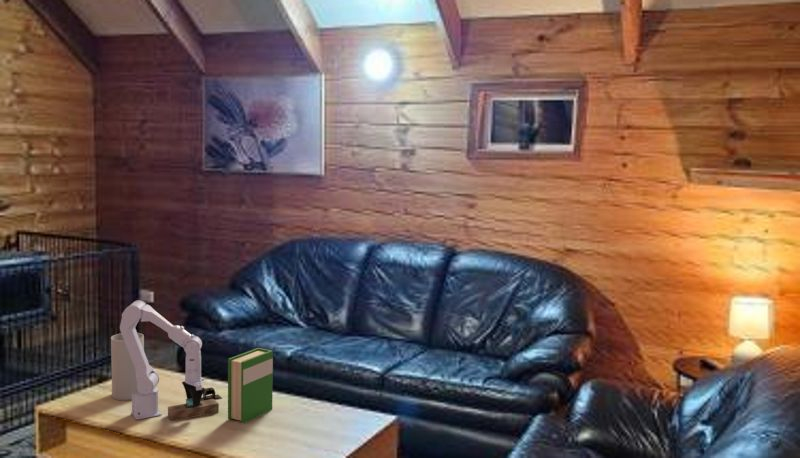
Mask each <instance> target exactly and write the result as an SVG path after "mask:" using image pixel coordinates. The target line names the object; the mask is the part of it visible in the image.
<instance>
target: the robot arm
mask: <svg viewBox="0 0 800 458" xmlns="http://www.w3.org/2000/svg"><path fill="white" fill-rule="evenodd" d="M139 321H140V322H141V323H142V322H151V323H152V324H154V325H155V326H157V327H158V328H160V329H162V330H163V331H164V332H166V333H167V335H168V338H169V339H170V340H172V341H173V342H174V343H176V344H178V345H179V346H180V348H181V347H182V348H183V350H184V352H185V374H184V377H185V378H184V379H185V380H184V381H182V382H181V384H182V385H183V388H184V391H185V396H186V399H190V398H192V401H193V406H199V405H200V401H201V397H203V392H204V391H205V389H206V388H205V387H203V384H202V382H203V381H205V378H204V377H202V351H201V349H202V346H203V340H202V339H201V338H200V336H197V335H195V334H193V333H192V334H191V333H190V332H188V331H187V330H186V329H185V326H183V325H181V326H180V325H179V324H178V325H177V324H176V325H174V324H172V323H171V322H170V321H168V319H166V318H165V317H164V316H163V315H161V314H160V313H159V312H157V310H155V309H154V308H153V307H152V306H151V305H150V304H147V303H146V302H145V301H143V300H139V299H138V300H135V301H133V302H132V303H131V304H130V305H128V306H126V308H125V309H124V310H123V312H121V320H120V323H119V331H120V333H122V336H123V339H124V341H125V344H126V346H127V349H128V351H129V354H130V357H131V359H132V362H133V364H134V367H135V370H136V380H137V390H138V393H135V394H133V395H132V400H131V412H130V413H131V415H132V416H133V417H134V418H135V420H142V419H147V418H153V417H159V416H162V413H161V412H160V410H159V389H158V387H157V385H158V384H159V382H160V377H159V374H158V373H157V372H156V371H155V370H154V368H153V367H152V365H150V363H149V360H148V358H147V356H146V355H147V354H146V353H145V349H144V350H143V347H142V344H141V342H140V339H139V337H138V334H137V333H138V332H137V329H136V327H137V324H138V323H139Z"/></svg>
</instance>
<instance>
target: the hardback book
mask: <svg viewBox="0 0 800 458" xmlns="http://www.w3.org/2000/svg"><path fill="white" fill-rule="evenodd" d="M273 355H274V351H273V350H271V349H266V348H260V347H257V348H254V349H251V350H248V351H246V352H243V353H240V354H237V355H235V356H232V357H229V358H228V359H227V420H228V421H231V420H237V421H240V424H246V423H248V422H249V421H252V420H253V419H256V418H259V417H260V416H262V415H263V414H265V413H268V412H269V411H272V410H273V387H274V386H273V383H274V380H273V378H274V377H273V375H274V374H273V373H274V369H273V368H274V366H273V365H274V361H273V360H274V356H273Z"/></svg>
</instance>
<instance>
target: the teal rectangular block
mask: <svg viewBox="0 0 800 458" xmlns="http://www.w3.org/2000/svg"><path fill="white" fill-rule="evenodd" d="M185 404H186V408H191V407H197V406H193V401H192V398H190V399H187V398H186V399H185ZM199 406H201V401H200V405H199Z"/></svg>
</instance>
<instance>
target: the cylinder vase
mask: <svg viewBox="0 0 800 458" xmlns="http://www.w3.org/2000/svg"><path fill="white" fill-rule="evenodd" d="M137 334H138V337H139V339H140V342H141V344H142V347H143V350H144V351H145V336H144V334H143V333H140V332H137ZM110 348H111V349H110V351H111V352H110V353H111V354H110V357H111V361H110V363H111V397H112V398H113V399H114V400H118V401H132V395H133V394H135V393H138V390H137V380H136V370H135V367H134V364H133V362H132V359H131V357H130V354H129V351H128V349H127V346H126V344H125V341H124V339H123V336H122V333H121V332H120V333H116V334H114V335H111V337H110Z"/></svg>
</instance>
